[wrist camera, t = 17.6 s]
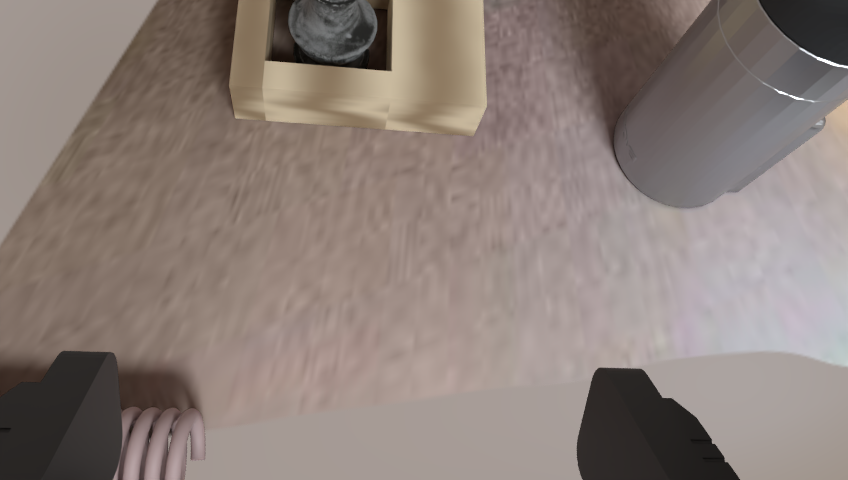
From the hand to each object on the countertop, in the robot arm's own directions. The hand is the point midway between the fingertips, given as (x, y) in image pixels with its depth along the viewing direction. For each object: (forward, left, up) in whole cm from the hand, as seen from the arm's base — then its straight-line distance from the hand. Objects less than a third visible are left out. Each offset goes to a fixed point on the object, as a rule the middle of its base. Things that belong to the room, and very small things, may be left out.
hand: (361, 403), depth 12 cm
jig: (-1, -29, -31) cm, 42 cm away
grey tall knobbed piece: (+1, -28, -31) cm, 42 cm away
